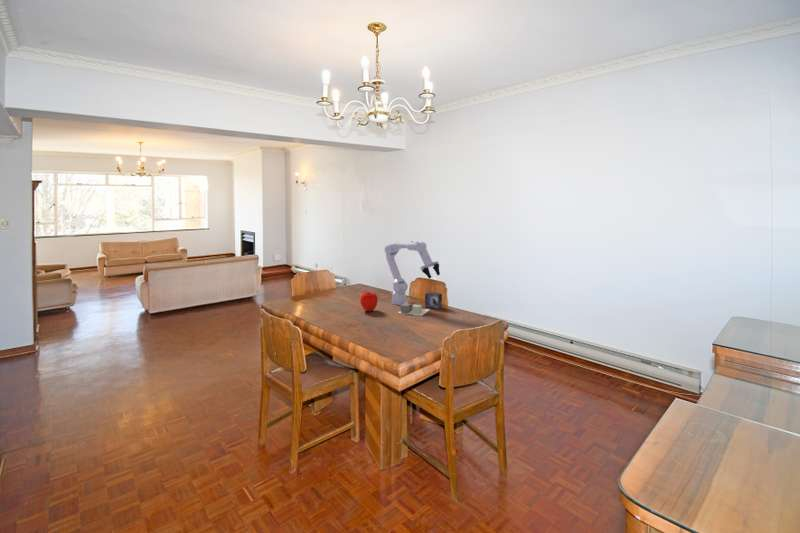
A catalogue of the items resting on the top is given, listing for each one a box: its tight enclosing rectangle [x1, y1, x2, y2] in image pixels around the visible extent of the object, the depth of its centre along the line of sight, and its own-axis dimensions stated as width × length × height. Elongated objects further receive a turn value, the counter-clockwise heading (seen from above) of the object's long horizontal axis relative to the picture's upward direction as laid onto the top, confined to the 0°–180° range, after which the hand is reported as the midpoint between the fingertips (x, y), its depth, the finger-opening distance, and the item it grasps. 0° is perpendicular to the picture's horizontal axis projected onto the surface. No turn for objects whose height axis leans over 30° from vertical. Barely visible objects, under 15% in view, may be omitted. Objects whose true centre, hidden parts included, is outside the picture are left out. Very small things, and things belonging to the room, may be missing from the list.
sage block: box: [411, 304, 423, 315], centre depth 264 cm, size 5×5×5 cm
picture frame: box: [424, 291, 443, 310], centre depth 278 cm, size 11×6×10 cm, turn 62°
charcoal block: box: [400, 304, 410, 314], centre depth 266 cm, size 5×5×5 cm
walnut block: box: [406, 301, 419, 311], centre depth 273 cm, size 7×7×4 cm
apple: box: [359, 291, 379, 312], centre depth 269 cm, size 12×12×13 cm
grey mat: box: [398, 308, 431, 317], centre depth 269 cm, size 17×16×1 cm
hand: (434, 276), depth 267 cm, fingers open, 7 cm apart
